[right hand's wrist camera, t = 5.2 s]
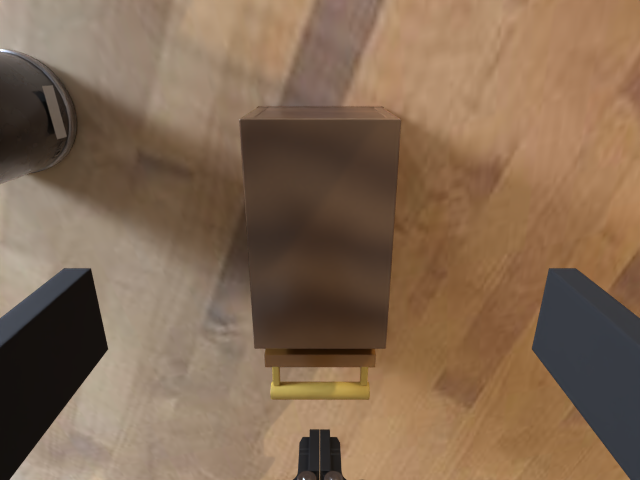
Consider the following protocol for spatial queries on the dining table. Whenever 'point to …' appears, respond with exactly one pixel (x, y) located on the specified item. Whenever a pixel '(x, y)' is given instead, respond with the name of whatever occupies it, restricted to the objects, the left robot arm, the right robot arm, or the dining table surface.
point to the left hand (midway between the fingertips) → (320, 438)
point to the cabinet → (320, 224)
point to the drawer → (319, 359)
